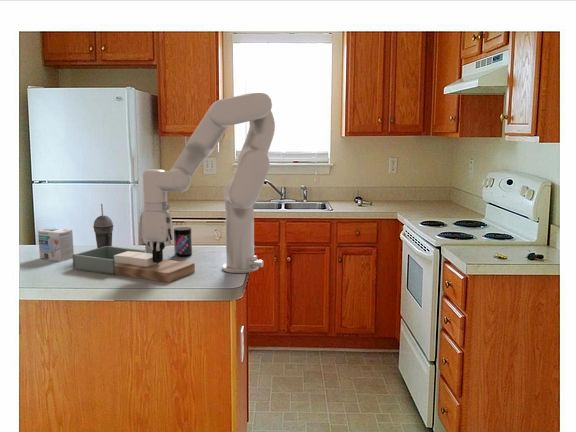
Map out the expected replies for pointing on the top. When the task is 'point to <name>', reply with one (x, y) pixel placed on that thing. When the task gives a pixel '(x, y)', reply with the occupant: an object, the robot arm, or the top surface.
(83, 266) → the box
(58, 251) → the light bulb box
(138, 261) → the tile
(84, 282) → the top surface
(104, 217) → the beverage cup
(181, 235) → the supplement container
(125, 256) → the tile
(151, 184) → the robot arm
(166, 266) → the wooden cutting board
